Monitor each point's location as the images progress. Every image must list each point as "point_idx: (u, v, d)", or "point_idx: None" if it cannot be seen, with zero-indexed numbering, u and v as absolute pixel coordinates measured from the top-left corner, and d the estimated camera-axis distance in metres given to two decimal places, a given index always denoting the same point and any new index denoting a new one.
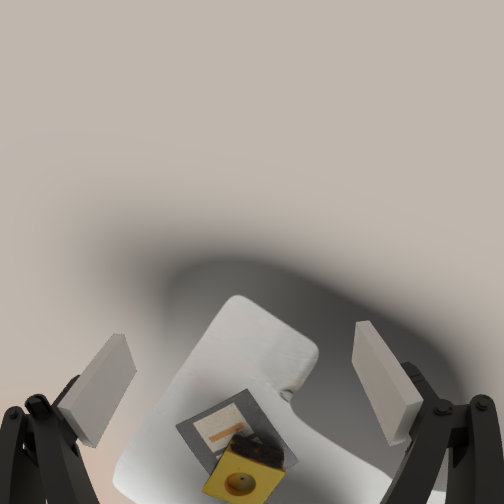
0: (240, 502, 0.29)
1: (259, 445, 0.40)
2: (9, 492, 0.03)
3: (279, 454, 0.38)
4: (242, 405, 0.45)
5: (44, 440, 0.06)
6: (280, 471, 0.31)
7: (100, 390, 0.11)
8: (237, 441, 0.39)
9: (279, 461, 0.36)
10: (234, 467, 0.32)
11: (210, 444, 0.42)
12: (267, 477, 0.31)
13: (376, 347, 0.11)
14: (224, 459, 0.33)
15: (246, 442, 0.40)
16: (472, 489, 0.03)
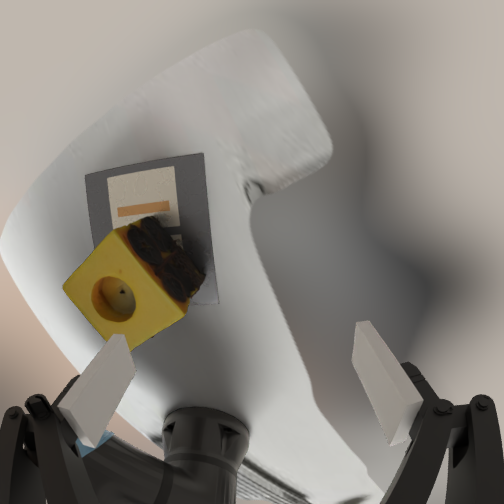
0: (104, 330, 0.24)
1: (176, 249, 0.31)
2: (9, 492, 0.03)
3: (196, 278, 0.31)
4: (183, 175, 0.30)
5: (44, 440, 0.06)
6: (178, 308, 0.24)
7: (100, 390, 0.11)
8: (147, 226, 0.28)
9: (189, 289, 0.28)
10: (114, 266, 0.23)
11: (115, 218, 0.32)
12: (156, 308, 0.24)
13: (376, 347, 0.11)
14: (105, 246, 0.22)
15: (160, 235, 0.30)
16: (472, 489, 0.03)
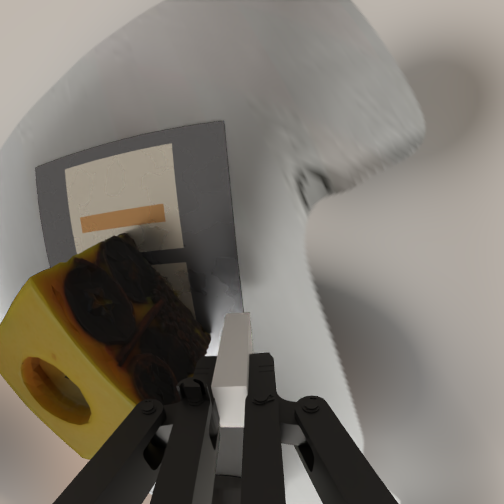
0: (52, 425, 0.11)
1: (164, 294, 0.18)
2: (97, 497, 0.05)
3: (198, 344, 0.17)
4: (189, 158, 0.17)
5: (184, 429, 0.08)
6: None
7: None
8: (111, 257, 0.15)
9: (186, 372, 0.15)
10: (42, 345, 0.09)
11: (79, 235, 0.18)
12: None
13: (238, 335, 0.14)
14: (22, 307, 0.09)
15: (136, 270, 0.17)
16: (339, 494, 0.05)
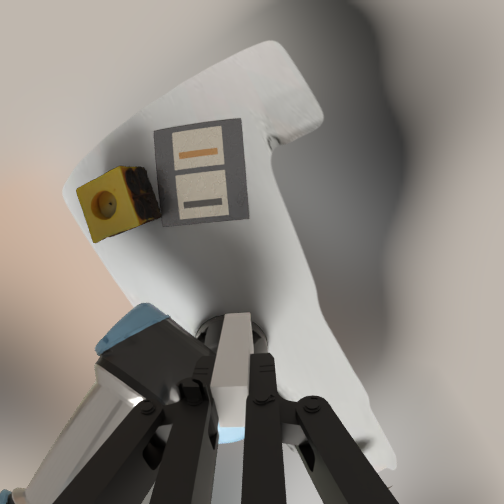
0: (91, 222, 0.40)
1: (150, 192, 0.47)
2: (97, 497, 0.05)
3: (155, 212, 0.47)
4: (227, 131, 0.45)
5: (183, 429, 0.08)
6: (137, 220, 0.40)
7: None
8: (138, 172, 0.44)
9: (148, 216, 0.44)
10: (112, 186, 0.38)
11: (177, 160, 0.47)
12: (125, 216, 0.39)
13: (238, 335, 0.14)
14: (111, 173, 0.38)
15: (144, 180, 0.46)
16: (340, 493, 0.05)
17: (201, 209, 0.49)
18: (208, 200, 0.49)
